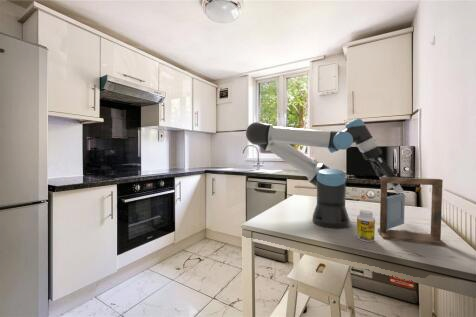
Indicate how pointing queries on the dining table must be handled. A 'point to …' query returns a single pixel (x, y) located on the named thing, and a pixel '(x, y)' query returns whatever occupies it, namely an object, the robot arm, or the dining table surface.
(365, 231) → the supplement bottle
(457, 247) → the dining table surface
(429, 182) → the gate frame
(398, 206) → the panel
